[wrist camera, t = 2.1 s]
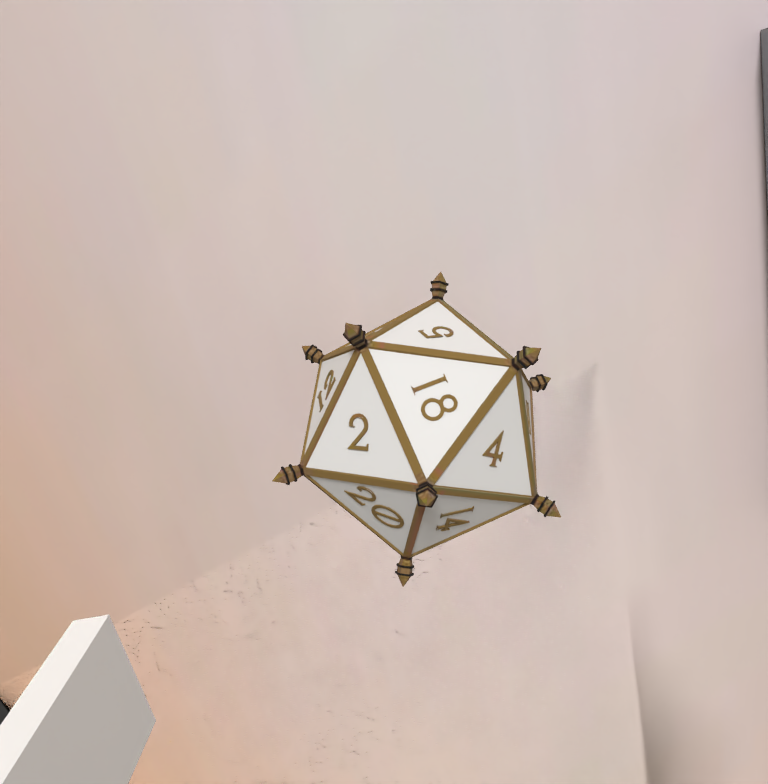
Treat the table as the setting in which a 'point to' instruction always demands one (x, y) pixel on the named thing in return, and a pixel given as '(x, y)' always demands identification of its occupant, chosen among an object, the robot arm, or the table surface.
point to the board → (765, 92)
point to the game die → (422, 429)
